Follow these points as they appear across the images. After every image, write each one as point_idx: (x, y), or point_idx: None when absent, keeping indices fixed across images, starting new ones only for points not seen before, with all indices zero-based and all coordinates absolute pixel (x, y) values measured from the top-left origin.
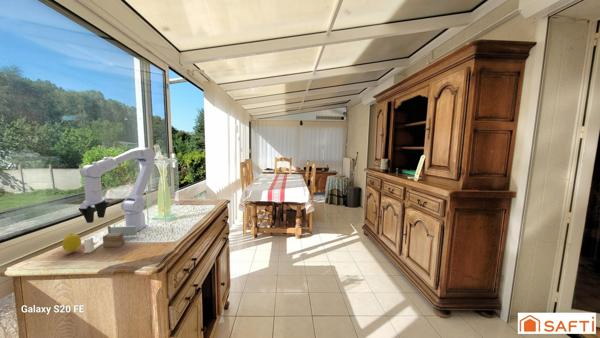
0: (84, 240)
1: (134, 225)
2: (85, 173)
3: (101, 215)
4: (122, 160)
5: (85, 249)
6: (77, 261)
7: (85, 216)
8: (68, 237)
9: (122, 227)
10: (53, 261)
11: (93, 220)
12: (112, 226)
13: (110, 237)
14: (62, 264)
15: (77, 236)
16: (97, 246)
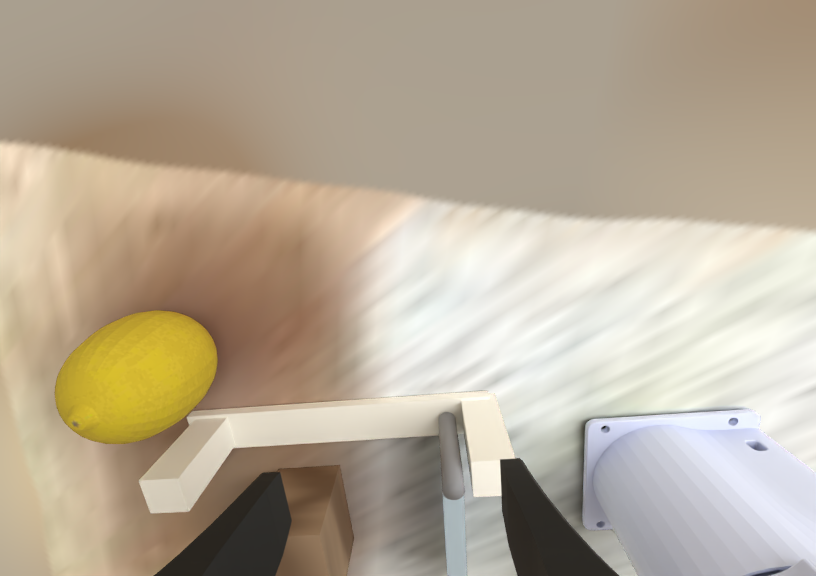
0: (143, 479)
1: (616, 534)
2: None
3: (509, 522)
4: None
5: (190, 429)
6: (90, 455)
7: (196, 560)
8: (59, 413)
9: (447, 572)
10: (66, 324)
11: (281, 548)
12: (476, 494)
13: None
14: (46, 406)
15: (125, 443)
16: (268, 445)
